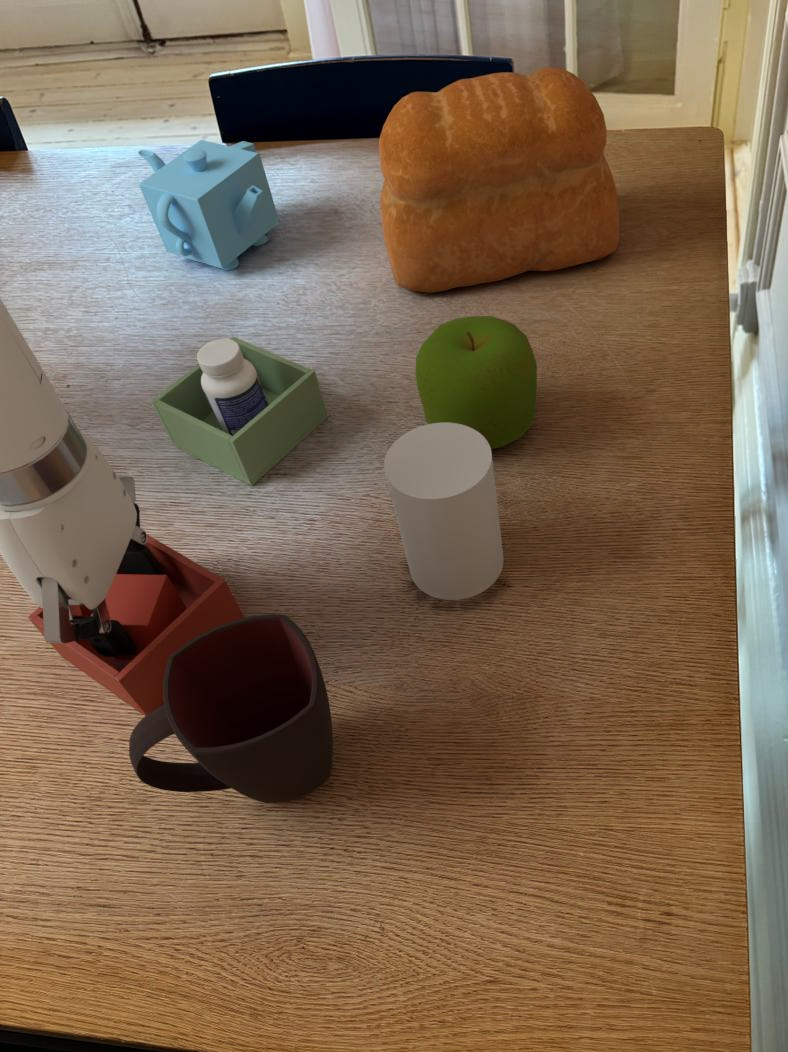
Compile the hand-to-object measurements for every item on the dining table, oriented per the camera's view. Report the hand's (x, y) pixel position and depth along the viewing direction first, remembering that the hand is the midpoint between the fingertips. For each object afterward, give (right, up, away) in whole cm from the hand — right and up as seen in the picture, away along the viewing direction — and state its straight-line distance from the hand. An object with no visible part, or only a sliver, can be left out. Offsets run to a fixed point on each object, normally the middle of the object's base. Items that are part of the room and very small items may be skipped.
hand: (132, 613), depth 72 cm
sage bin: (+6, +19, +16) cm, 25 cm away
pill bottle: (+5, +19, +16) cm, 25 cm away
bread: (+31, +43, +31) cm, 61 cm away
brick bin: (+1, -2, +2) cm, 3 cm away
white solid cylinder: (+26, +4, +4) cm, 27 cm away
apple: (+29, +18, +13) cm, 37 cm away
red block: (+1, -2, +1) cm, 3 cm away
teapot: (-3, +46, +37) cm, 59 cm away
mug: (+13, -12, -6) cm, 19 cm away
